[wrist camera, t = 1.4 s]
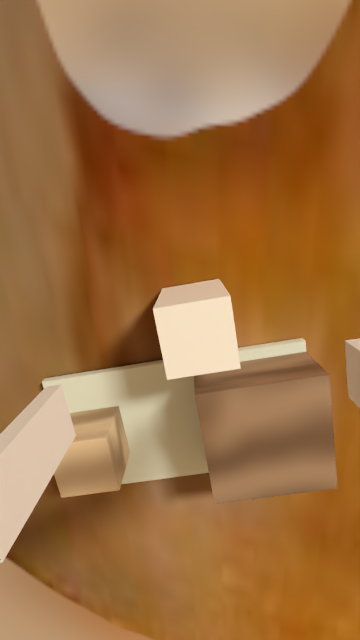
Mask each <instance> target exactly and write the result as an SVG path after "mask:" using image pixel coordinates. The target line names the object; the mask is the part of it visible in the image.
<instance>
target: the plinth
mask: <svg viewBox="0 0 360 640" xmlns="http://www.w3.org/2000/svg"><path fill="white" fill-rule="evenodd" d="M240 367H241V369H235V370H229V371H222V372H215V373H209V374H202V375H196V376H194V391H195V400H196V405H197V411H198V416H199V422H200V427H201V433H202V438H203V444H204V449H205V455H206V460H207V466H208V471H209V477H210V482H211V488H212V493H213V499H214V504H217V503H225V502H233V501H241V500H249V499H257V498H265V497H273V496H281V495H289V494H297V493H305V492H313V491H321V490H329V489H337V474H336V460H335V446H334V433H333V419H332V405H331V391H330V377H329V374H328V373H327V372H326V371H325V370H324V369H323V368H322V367H321V366H320V365H319V364H318V363H317V362H316V361H315V360H314V359H313V358H312V357H311V356H310V355H309V354H308V353H307V352H300V353H294V354H287V355H281V356H274V357H268V358H261V359H255V360H248V361H242V362H240Z"/></svg>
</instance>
